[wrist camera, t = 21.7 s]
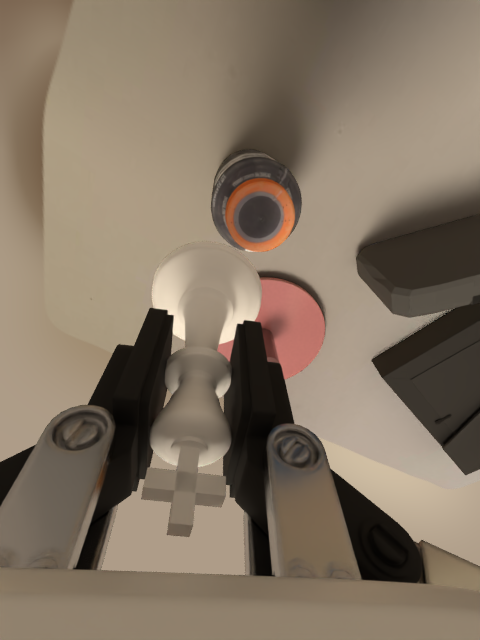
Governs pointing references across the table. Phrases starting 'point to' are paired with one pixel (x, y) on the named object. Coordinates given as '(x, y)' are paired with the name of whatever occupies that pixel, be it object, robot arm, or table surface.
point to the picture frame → (442, 381)
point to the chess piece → (197, 372)
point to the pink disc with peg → (287, 326)
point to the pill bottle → (255, 201)
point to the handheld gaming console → (425, 269)
